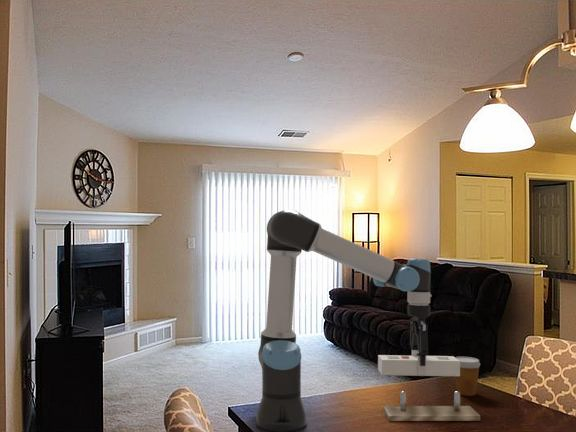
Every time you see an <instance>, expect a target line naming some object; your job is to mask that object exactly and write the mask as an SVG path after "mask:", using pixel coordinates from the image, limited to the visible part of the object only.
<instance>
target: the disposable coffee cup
mask: <svg viewBox="0 0 576 432" xmlns="http://www.w3.org/2000/svg"><path fill="white" fill-rule="evenodd" d="M454 357H455V356H454ZM455 358H456V359H458V360H459V361H460V376H454V377H455V382H456V388H457V389H456V390H457V391H458V392H459V393H460V396H461V395H462V396H466V397H467V396H469V397H472V396H476V394H477V391H478V390H477V389H478V380H479V379H478V378H479V372H480V371H479V370H480V366H481V363H480V359H478V358H476V357H471V356H456V357H455Z"/></svg>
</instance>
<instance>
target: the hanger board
mask: <svg viewBox="0 0 576 432" xmlns="http://www.w3.org/2000/svg"><path fill="white" fill-rule="evenodd" d="M382 412H383V413H384V415H385V417H386V418H387V421H389V422H391V421H392V422H403V421H404V422H406V421H407V422H409V421H411V422H413V421H414V422H427V421H429V422H430V421H431V422H432V421H433V422H435V421H437V422H439V421H440V422H441V421H443V422H445V421H446V422H448V421H458V422H459V421H462V422H463V421H467V422H468V421H470V422H471V421H472V422H473V421H477V422H478V421H481V415H480V414H479V413H478V412H477V411H476V410H475V409H474V408H472V406H470V405H460V411H459V412H457V411H454V405H406V412H402V411H400V405H382Z"/></svg>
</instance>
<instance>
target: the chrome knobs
mask: <svg viewBox="0 0 576 432" xmlns="http://www.w3.org/2000/svg"><path fill="white" fill-rule="evenodd" d="M399 395H400V396H399V397H400V398H399V400H400V401H399V403H400V404H399V406H400V411H402V412H406V406H407V393H406V392H405V391H404V390H402V391H400V393H399ZM453 406H454V411H457V412H459V411H460V406H461V394H460V393H459V392H458V391H454V393H453Z"/></svg>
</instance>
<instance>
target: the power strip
mask: <svg viewBox="0 0 576 432" xmlns="http://www.w3.org/2000/svg"><path fill="white" fill-rule="evenodd" d="M417 369H418V356H412V355H401V354H400V355H397V354H395V355H393V354H392V355H389V354H378V355H377V370H378V371H379V373H380V374H381V376H406V377H407V376H413V377H414V376H418V377H425V376H426V377H428V376H429V377H455V376H460V361H459V360H458V359H456V358H455V356H453V355H451V356H449V355H427V356H426V375H417Z"/></svg>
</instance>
